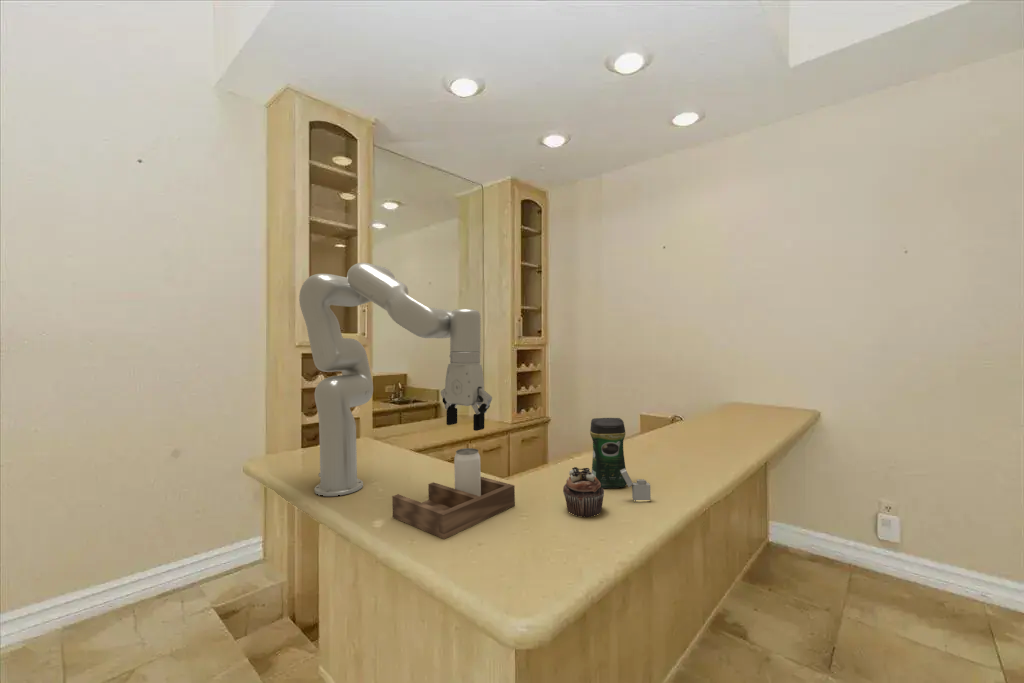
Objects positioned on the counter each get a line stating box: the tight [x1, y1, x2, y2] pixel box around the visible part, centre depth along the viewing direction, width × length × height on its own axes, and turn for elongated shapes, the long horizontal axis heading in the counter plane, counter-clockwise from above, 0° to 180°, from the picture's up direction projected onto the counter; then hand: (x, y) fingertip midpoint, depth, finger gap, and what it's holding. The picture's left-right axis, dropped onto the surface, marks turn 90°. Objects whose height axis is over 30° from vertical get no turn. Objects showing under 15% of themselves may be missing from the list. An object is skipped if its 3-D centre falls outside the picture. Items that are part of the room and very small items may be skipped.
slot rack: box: [391, 476, 516, 540], centre depth 104 cm, size 18×23×5 cm
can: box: [453, 447, 482, 496], centre depth 109 cm, size 6×6×12 cm
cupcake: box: [562, 466, 605, 518], centre depth 103 cm, size 10×10×10 cm
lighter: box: [620, 468, 652, 501], centre depth 109 cm, size 7×2×8 cm, turn 87°
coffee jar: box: [589, 417, 628, 489], centre depth 121 cm, size 10×8×19 cm
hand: (465, 427), depth 109 cm, fingers open, 9 cm apart
